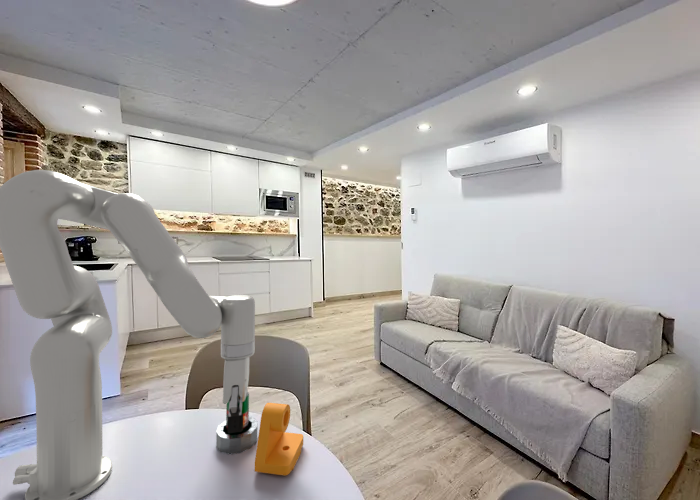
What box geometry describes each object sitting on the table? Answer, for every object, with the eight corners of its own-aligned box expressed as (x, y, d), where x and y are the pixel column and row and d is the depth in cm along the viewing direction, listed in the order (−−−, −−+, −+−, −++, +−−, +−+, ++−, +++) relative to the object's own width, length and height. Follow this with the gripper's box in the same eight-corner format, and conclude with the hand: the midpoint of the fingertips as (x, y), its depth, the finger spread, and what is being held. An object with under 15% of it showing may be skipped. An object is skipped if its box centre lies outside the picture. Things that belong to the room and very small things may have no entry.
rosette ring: (213, 456, 69) (213, 441, 69) (220, 432, 78) (220, 418, 77) (256, 450, 71) (256, 435, 71) (258, 427, 80) (258, 414, 80)
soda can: (241, 449, 71) (242, 396, 71) (221, 445, 72) (222, 394, 72) (252, 436, 76) (253, 387, 76) (233, 433, 77) (234, 385, 77)
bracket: (288, 480, 62) (289, 421, 62) (254, 475, 64) (254, 417, 63) (304, 445, 73) (304, 395, 73) (275, 442, 74) (275, 392, 74)
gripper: (226, 337, 81) (226, 404, 82) (214, 363, 64) (213, 446, 65) (256, 336, 83) (256, 401, 83) (252, 360, 66) (251, 441, 67)
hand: (237, 420), depth 74 cm, fingers open, 8 cm apart
